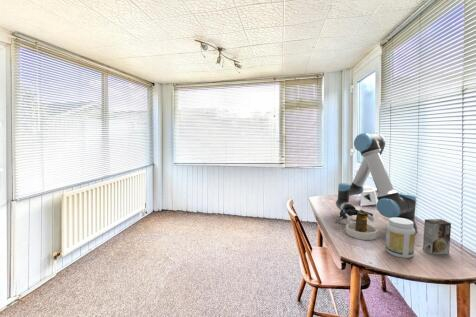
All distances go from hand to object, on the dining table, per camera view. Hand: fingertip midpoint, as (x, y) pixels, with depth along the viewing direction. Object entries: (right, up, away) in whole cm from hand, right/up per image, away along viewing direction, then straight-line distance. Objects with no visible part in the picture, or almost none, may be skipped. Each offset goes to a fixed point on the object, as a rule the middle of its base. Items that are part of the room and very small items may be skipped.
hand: (361, 219), depth 150 cm
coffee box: (+28, -11, -21) cm, 37 cm away
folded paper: (+40, -3, +68) cm, 79 cm away
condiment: (-1, -8, +1) cm, 8 cm away
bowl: (0, -9, +1) cm, 9 cm away
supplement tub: (+8, -12, -23) cm, 27 cm away
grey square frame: (+2, -7, +21) cm, 22 cm away
